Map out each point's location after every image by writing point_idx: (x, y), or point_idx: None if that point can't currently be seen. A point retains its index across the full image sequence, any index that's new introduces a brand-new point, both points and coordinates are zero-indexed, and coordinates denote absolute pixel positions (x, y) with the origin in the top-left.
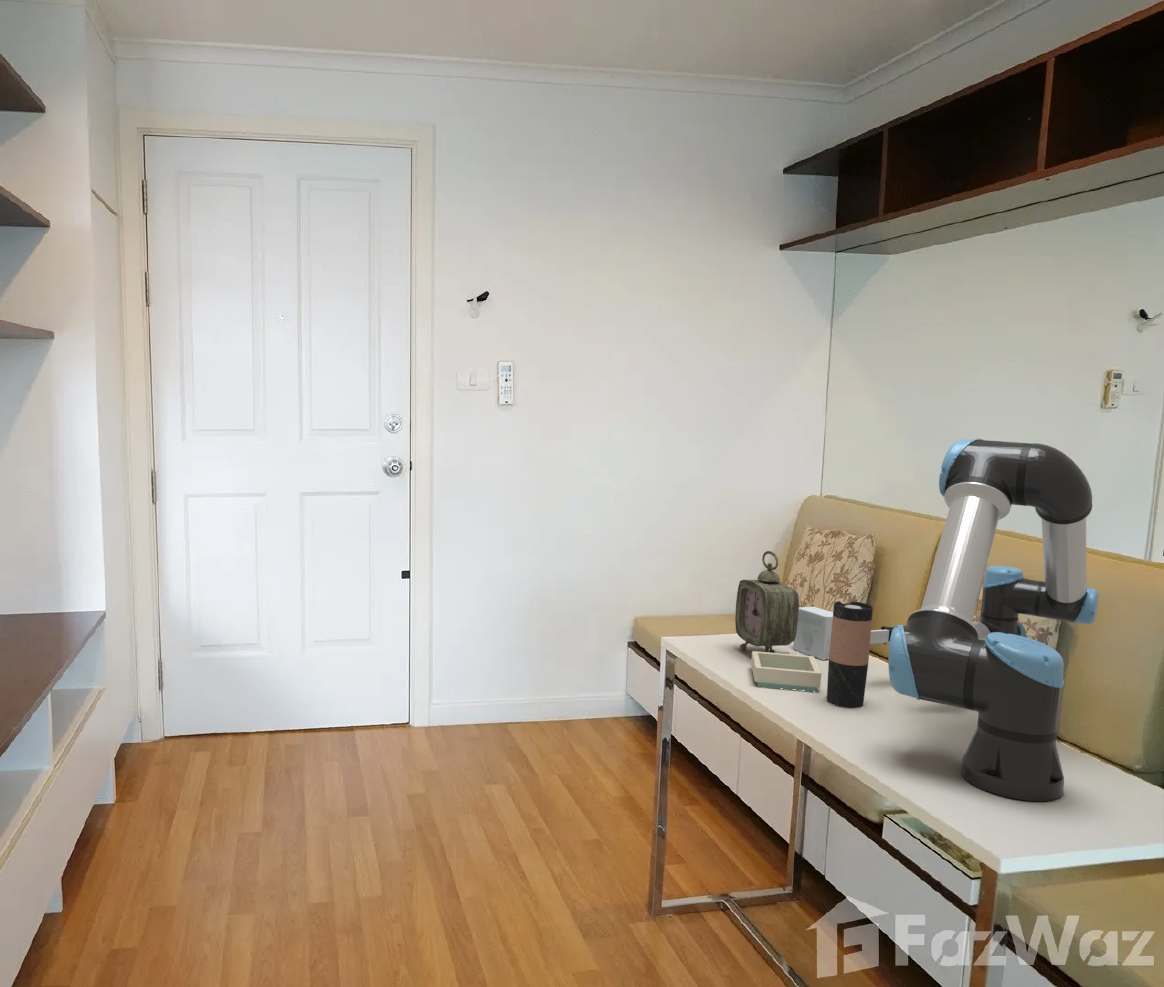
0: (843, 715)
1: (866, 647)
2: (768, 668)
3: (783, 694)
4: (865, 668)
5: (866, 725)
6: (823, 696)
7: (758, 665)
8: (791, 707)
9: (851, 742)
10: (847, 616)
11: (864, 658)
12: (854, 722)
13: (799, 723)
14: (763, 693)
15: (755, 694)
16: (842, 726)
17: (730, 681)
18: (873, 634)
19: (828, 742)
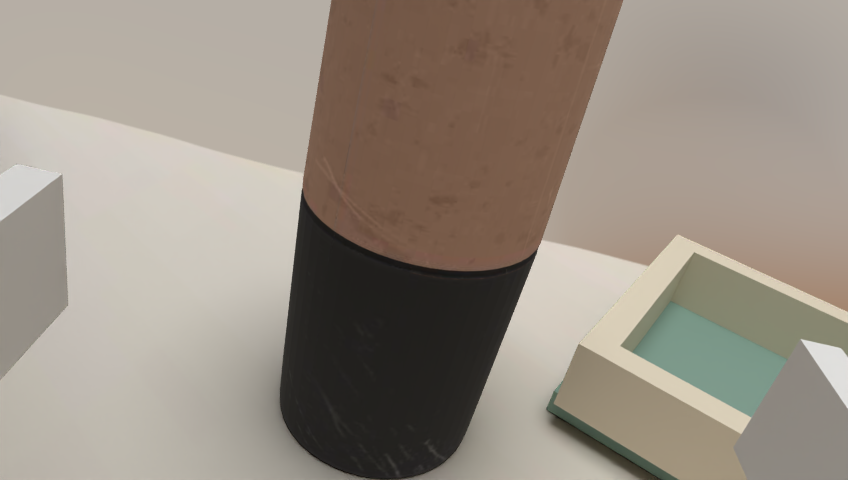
0: (248, 286)
1: (321, 76)
2: (668, 252)
3: (546, 305)
4: (301, 216)
5: (111, 264)
6: (486, 395)
7: (711, 255)
8: None
9: (67, 153)
10: None
11: (310, 144)
12: (167, 260)
13: (279, 174)
14: (568, 272)
15: (561, 253)
16: (173, 216)
17: None
18: (842, 466)
19: (122, 131)
